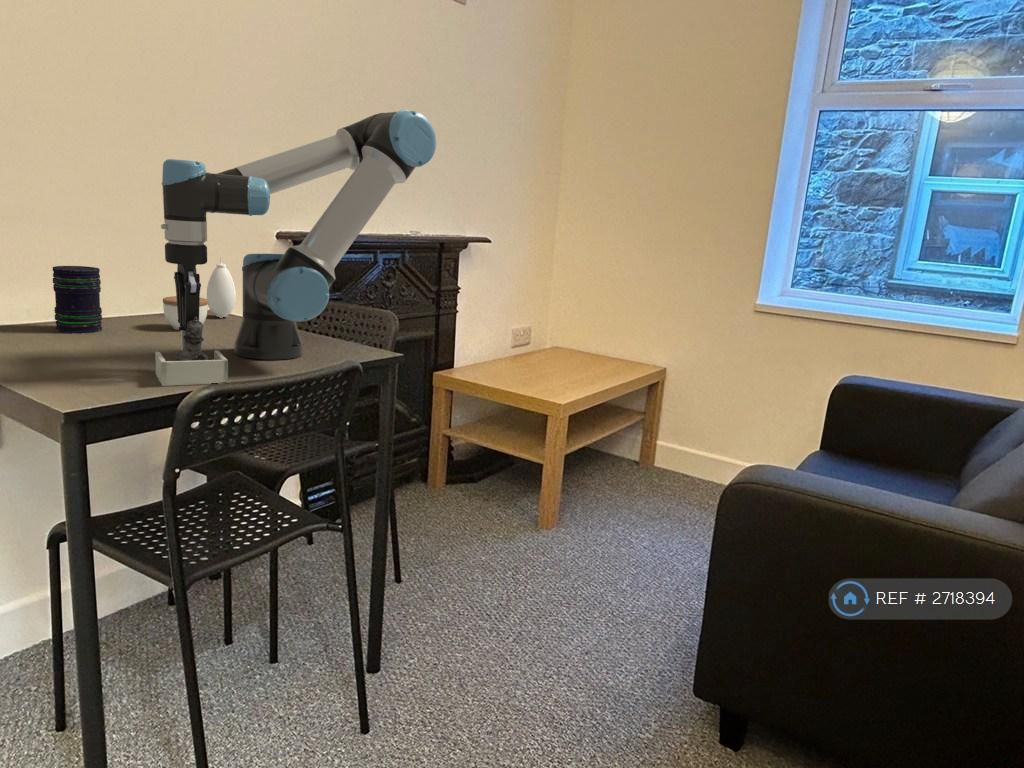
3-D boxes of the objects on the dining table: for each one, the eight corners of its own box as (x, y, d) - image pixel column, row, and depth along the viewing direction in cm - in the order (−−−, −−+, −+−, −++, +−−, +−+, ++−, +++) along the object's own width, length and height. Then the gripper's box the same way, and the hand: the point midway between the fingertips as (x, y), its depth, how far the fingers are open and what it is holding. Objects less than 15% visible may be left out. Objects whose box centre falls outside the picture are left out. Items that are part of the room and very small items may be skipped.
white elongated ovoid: (204, 319, 204) (204, 254, 200) (208, 314, 212) (208, 252, 207) (234, 320, 206) (234, 257, 202) (237, 316, 214) (237, 254, 210)
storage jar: (52, 333, 169) (48, 269, 165) (58, 325, 177) (55, 264, 174) (100, 334, 173) (98, 271, 169) (104, 326, 181) (102, 267, 178)
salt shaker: (174, 364, 144) (179, 308, 140) (205, 367, 147) (212, 312, 142) (172, 377, 139) (178, 319, 135) (205, 380, 142) (212, 323, 138)
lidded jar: (164, 324, 191) (163, 289, 189) (207, 325, 196) (207, 291, 193) (162, 331, 182) (161, 294, 180) (208, 332, 186) (208, 296, 184)
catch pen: (218, 371, 148) (218, 350, 147) (227, 383, 140) (228, 360, 139) (155, 374, 142) (155, 351, 141) (162, 386, 134) (161, 362, 133)
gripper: (159, 239, 143) (163, 355, 149) (170, 245, 133) (175, 369, 138) (199, 240, 147) (202, 353, 153) (214, 246, 137) (216, 367, 143)
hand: (189, 361), depth 146 cm, fingers closed
